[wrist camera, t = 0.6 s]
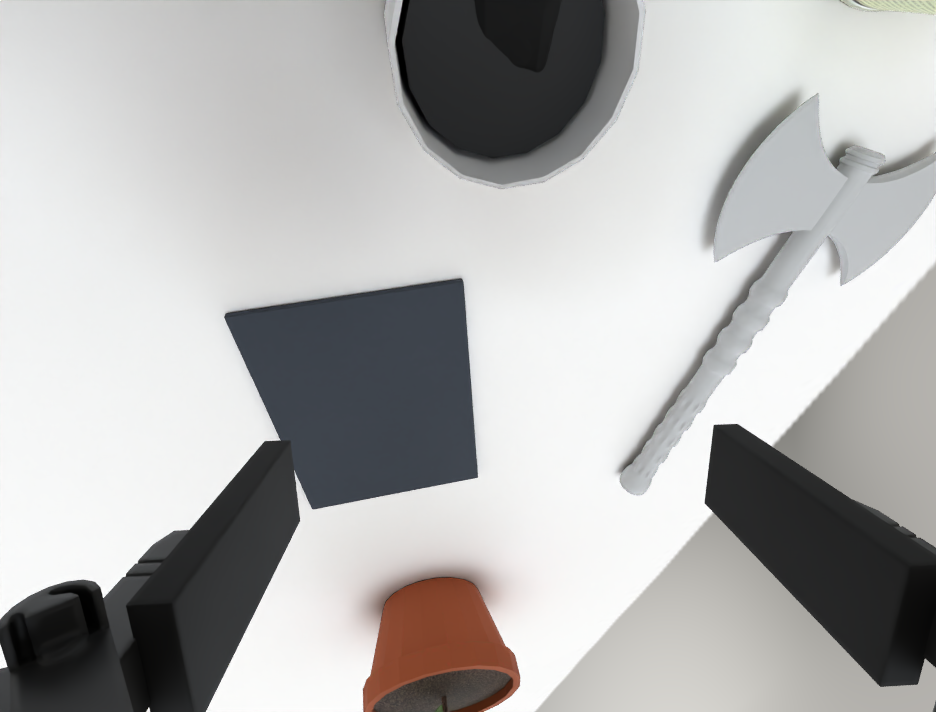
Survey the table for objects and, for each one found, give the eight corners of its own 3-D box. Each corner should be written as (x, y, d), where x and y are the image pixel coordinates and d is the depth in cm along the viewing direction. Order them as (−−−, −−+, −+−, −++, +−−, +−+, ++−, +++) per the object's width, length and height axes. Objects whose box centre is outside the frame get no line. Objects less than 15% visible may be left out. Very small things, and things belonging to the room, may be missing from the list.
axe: (689, 475, 45) (703, 497, 43) (555, 472, 41) (565, 496, 39) (956, 142, 28) (998, 154, 26) (774, 79, 24) (809, 88, 22)
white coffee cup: (371, -101, 17) (388, -152, 10) (547, -73, 19) (685, -98, 11) (373, 105, 21) (387, 184, 14) (518, 116, 23) (604, 193, 15)
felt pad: (225, 313, 26) (224, 317, 26) (462, 278, 28) (463, 281, 27) (312, 505, 38) (312, 509, 37) (476, 473, 39) (477, 477, 39)
